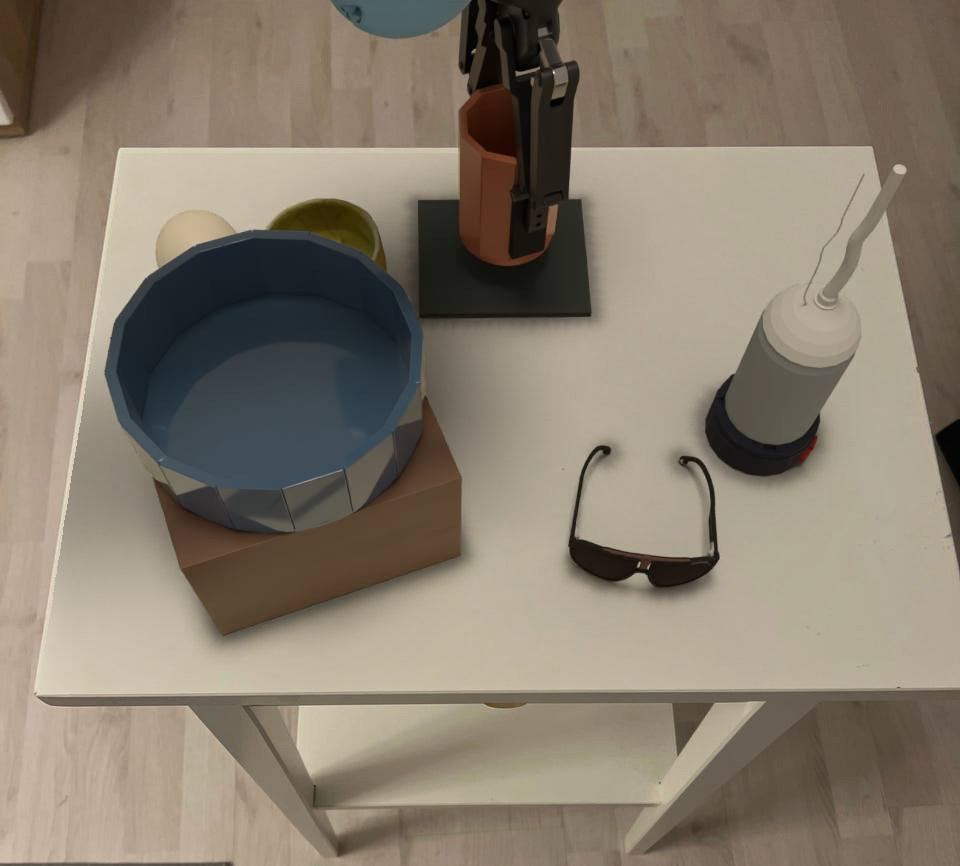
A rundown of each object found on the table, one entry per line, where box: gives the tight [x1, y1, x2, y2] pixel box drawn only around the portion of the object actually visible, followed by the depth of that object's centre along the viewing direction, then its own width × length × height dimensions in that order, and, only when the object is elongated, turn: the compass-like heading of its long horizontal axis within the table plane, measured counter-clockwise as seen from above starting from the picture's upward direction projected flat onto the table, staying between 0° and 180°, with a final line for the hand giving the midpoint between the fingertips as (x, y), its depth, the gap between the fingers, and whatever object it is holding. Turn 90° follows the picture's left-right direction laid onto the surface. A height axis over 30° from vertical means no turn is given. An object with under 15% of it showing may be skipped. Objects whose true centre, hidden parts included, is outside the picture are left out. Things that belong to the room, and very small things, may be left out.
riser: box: [109, 336, 463, 636], centre depth 66 cm, size 18×18×11 cm
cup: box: [457, 83, 558, 266], centre depth 72 cm, size 8×8×10 cm
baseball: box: [155, 209, 238, 270], centre depth 75 cm, size 7×7×7 cm
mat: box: [417, 198, 593, 319], centre depth 79 cm, size 14×12×1 cm
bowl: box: [103, 228, 427, 533], centre depth 59 cm, size 18×18×5 cm
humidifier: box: [704, 163, 908, 477], centre depth 63 cm, size 8×8×25 cm
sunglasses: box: [567, 444, 721, 589], centre depth 69 cm, size 10×12×5 cm
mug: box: [264, 197, 388, 273], centre depth 74 cm, size 12×10×10 cm
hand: (506, 212), depth 75 cm, fingers closed on cup, 8 cm apart
